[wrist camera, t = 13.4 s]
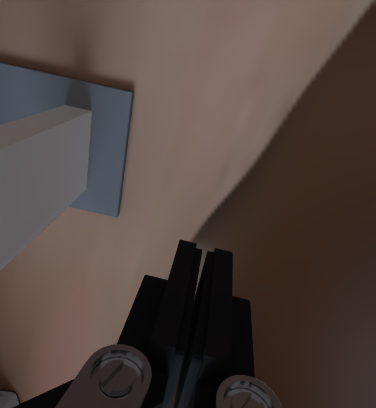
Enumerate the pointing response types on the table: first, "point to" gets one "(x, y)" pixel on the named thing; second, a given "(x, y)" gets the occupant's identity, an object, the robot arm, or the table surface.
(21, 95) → the domino mat
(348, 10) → the table surface
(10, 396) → the coffee box
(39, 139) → the domino
